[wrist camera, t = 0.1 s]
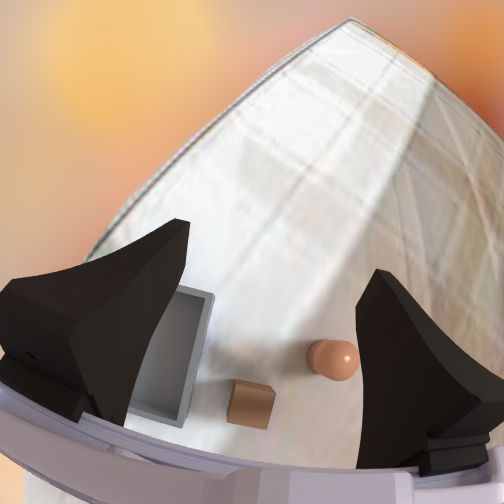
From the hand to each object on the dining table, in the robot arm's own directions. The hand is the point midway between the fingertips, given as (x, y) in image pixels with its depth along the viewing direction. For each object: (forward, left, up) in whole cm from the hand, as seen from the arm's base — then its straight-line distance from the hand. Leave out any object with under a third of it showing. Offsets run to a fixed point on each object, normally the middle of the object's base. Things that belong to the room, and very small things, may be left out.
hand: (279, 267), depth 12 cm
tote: (-8, +11, -32) cm, 34 cm away
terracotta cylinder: (-4, -13, -32) cm, 35 cm away
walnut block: (-12, -4, -32) cm, 34 cm away
